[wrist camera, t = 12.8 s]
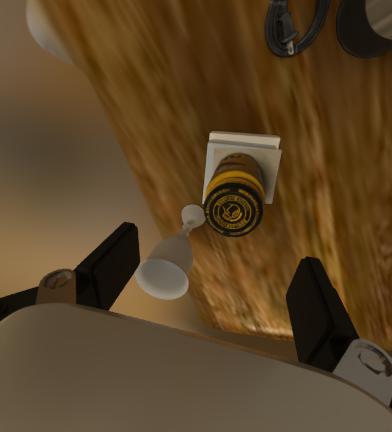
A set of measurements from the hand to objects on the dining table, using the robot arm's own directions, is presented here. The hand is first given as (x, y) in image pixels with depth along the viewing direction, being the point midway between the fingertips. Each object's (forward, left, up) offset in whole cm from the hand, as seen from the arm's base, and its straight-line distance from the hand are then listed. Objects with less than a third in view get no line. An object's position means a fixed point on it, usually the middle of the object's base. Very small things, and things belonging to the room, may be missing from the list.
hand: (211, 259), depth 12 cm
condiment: (0, +2, -19) cm, 19 cm away
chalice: (+12, -6, -27) cm, 30 cm away
